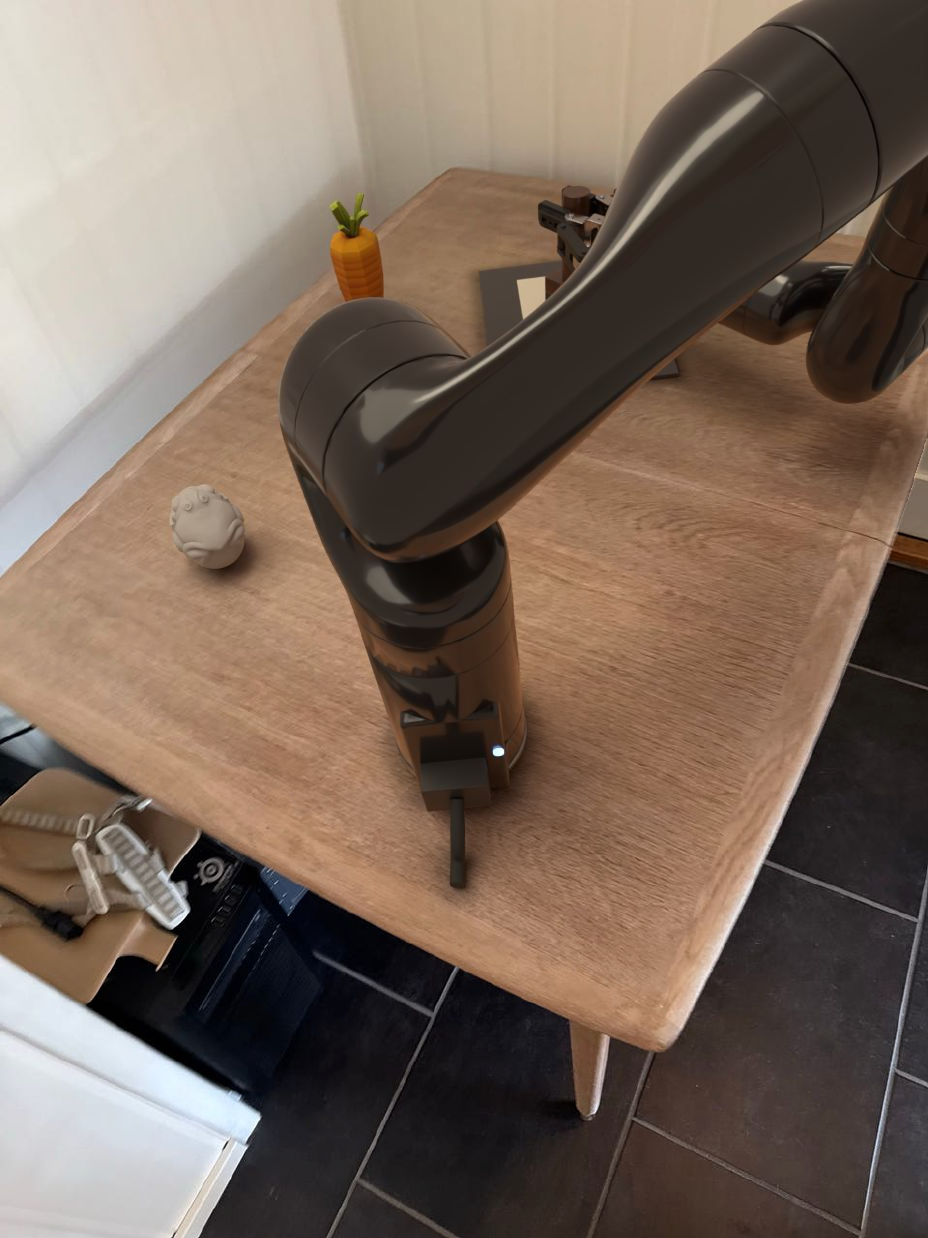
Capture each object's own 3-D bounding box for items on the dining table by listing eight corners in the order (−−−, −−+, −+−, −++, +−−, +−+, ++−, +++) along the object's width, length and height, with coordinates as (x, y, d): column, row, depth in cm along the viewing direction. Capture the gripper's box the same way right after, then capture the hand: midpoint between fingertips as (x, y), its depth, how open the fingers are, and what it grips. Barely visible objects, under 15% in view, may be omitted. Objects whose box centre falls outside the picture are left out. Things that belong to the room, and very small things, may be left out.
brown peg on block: (604, 312, 90) (609, 191, 81) (580, 326, 88) (582, 204, 79) (569, 296, 92) (570, 177, 84) (545, 309, 91) (543, 190, 82)
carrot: (387, 315, 96) (361, 178, 84) (401, 339, 93) (376, 200, 81) (344, 328, 95) (311, 192, 83) (357, 353, 92) (324, 215, 80)
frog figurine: (239, 518, 79) (213, 460, 74) (269, 565, 75) (244, 508, 70) (176, 548, 78) (145, 491, 72) (204, 598, 74) (173, 542, 68)
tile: (678, 376, 85) (679, 366, 84) (493, 398, 86) (492, 388, 85) (638, 253, 98) (639, 243, 97) (478, 273, 99) (477, 263, 98)
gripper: (754, 189, 76) (601, 134, 84) (650, 262, 71) (498, 195, 79) (740, 269, 82) (599, 210, 90) (643, 341, 77) (503, 271, 85)
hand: (552, 204), depth 84 cm, fingers closed on brown peg on block, 2 cm apart
